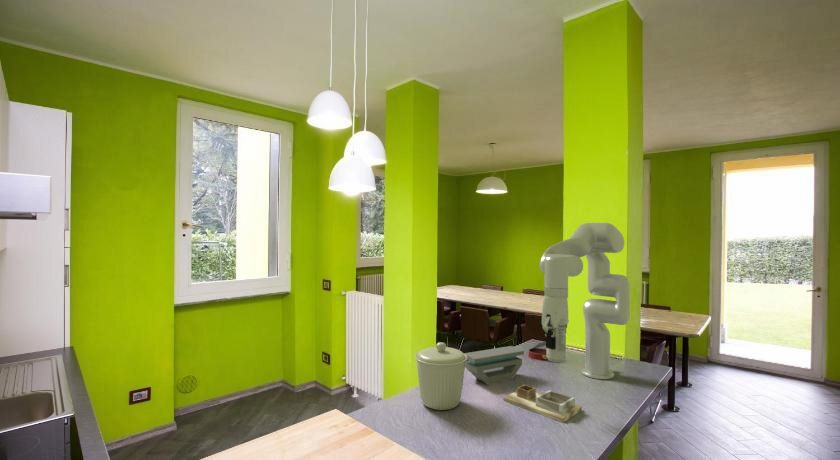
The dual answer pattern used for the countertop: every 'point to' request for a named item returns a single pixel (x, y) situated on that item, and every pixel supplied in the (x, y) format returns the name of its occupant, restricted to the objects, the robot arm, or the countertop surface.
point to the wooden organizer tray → (544, 403)
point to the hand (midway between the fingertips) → (555, 346)
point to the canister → (440, 376)
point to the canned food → (538, 352)
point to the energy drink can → (558, 343)
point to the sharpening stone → (494, 364)
